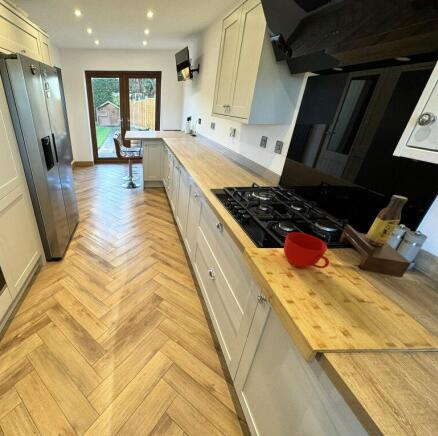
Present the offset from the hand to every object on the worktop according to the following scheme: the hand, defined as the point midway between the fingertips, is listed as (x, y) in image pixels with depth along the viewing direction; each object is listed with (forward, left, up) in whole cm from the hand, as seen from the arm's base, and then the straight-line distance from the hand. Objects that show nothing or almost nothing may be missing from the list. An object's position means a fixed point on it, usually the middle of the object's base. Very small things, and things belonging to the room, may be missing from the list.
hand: (432, 162), depth 85 cm
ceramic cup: (+38, +25, -38) cm, 60 cm away
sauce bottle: (+9, +8, -32) cm, 34 cm away
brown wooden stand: (+10, +10, -38) cm, 41 cm away
